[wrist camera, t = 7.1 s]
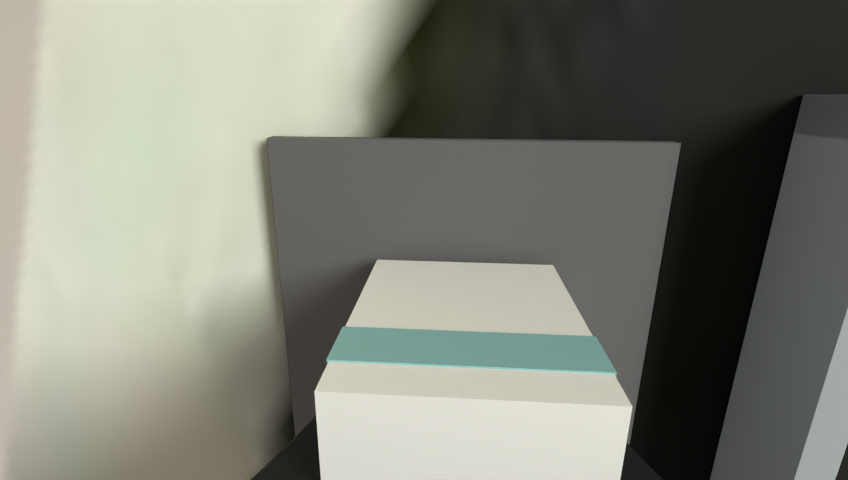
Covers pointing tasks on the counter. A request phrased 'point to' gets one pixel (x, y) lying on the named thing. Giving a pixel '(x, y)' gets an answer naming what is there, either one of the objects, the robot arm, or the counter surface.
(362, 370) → the carton
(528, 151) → the gray panel
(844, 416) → the tray rim
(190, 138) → the counter surface
